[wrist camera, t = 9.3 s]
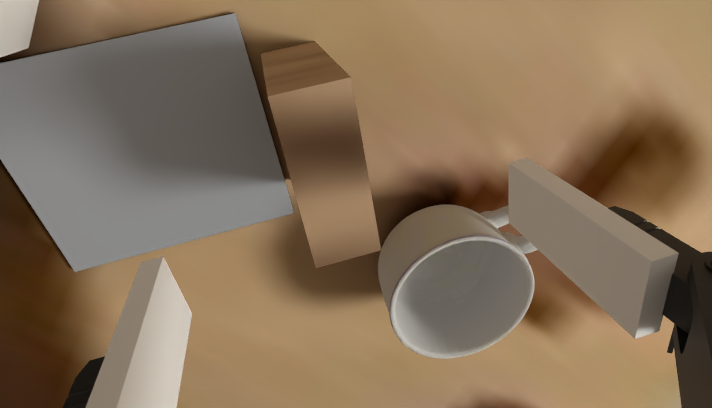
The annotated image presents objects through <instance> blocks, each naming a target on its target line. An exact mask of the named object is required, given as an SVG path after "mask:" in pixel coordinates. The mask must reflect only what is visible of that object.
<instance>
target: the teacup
mask: <svg viewBox="0 0 712 408" xmlns="http://www.w3.org/2000/svg"><path fill="white" fill-rule="evenodd" d="M508 223H509V206H505V207H503V208H500V209H498V210H495V211H485V212H482V213H480V214H478V213H476V212H474V211H472V210H470V209H468V208H465V207H462V206H457V205H435V206H431V207H427V208H424V209H421V210H419V211H416V212H414V213H413V214H411V215H409V216H408V217H406V218H405V219H403V220H402V221H401V222H400V223H399V224H397V225H396V227H395V228H394V229H393V230H392V231H391V232H390V234H389V235H388V237H387V238H386V240H385V242H384V244H383V246H382V249H381V251H380V256H379V261H378V276H379V282H380V287H381V290H382V293H383V297H384V300H385V303H386V306H387V308H388V311H389V315H390V321H391V325H392V327H393V330H394V332H395V334H396V335H397V337H398V338H399V339H400V341H401V342H402V343H403V344H404V345H405V346H406V347H408V348H409V349H411V350H412V351H414V352H416V353H418V354H420V355H424V356H427V357H430V358H442V359H445V358H457V357H462V356H467V355H470V354H473V353H477V352H479V351H481V350H484V349H486V348H488V347H490V346H491V345H493V344H495V343H497V342H498V341H500V340H501V339H502V338H503V337H505V336H506V335H507V334H509V332H510V331H511V330H512V329H513V328H514V327H516V326H517V324H518V323H519V322H520V321H521V319H522V318H523V317H524V315H525V313H526V312H527V310H528V307H529V305H530V303H531V300H532V297H533V293H534V276H533V272H532V269H531V266H530V264H529V262H528V260H527V258H526V257H525V255H524V254H525V253H530V252H533V251H536V250H538V249H537V248H536V247H535V246H534V245H533V244H532V243H530V242H529V241H528V240H527V239H526V238H525V237H524V236H523V235H520V236H517V235H512V234H510V233H508V232H504V233H503V232H500V231H499V230H498V229H497V228H499V227H501V226H503V225H506V224H508Z"/></svg>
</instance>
